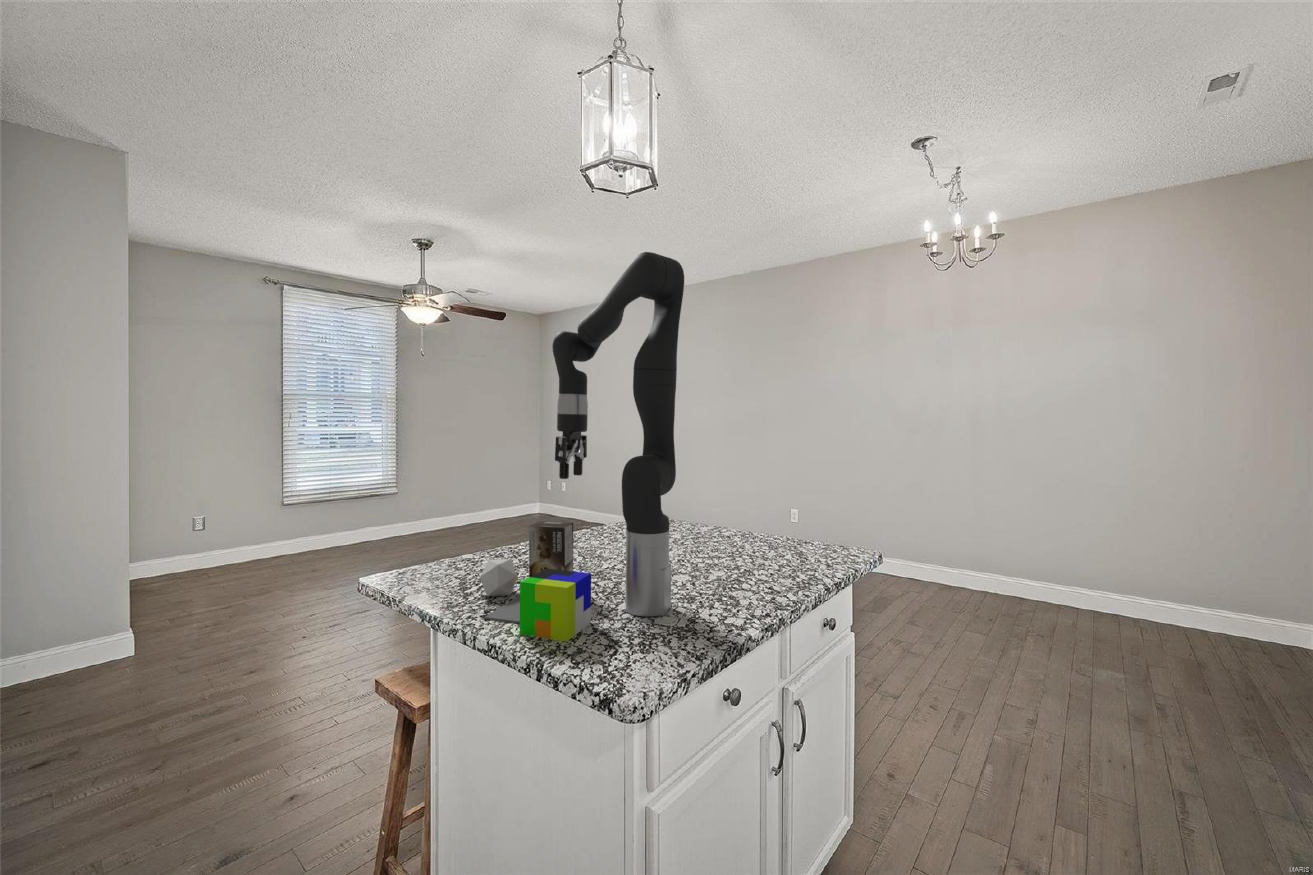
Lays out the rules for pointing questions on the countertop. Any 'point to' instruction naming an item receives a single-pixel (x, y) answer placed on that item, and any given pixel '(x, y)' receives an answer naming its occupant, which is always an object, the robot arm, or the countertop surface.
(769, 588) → the countertop surface
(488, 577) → the die
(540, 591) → the puzzle toy
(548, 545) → the coffee box
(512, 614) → the mat
